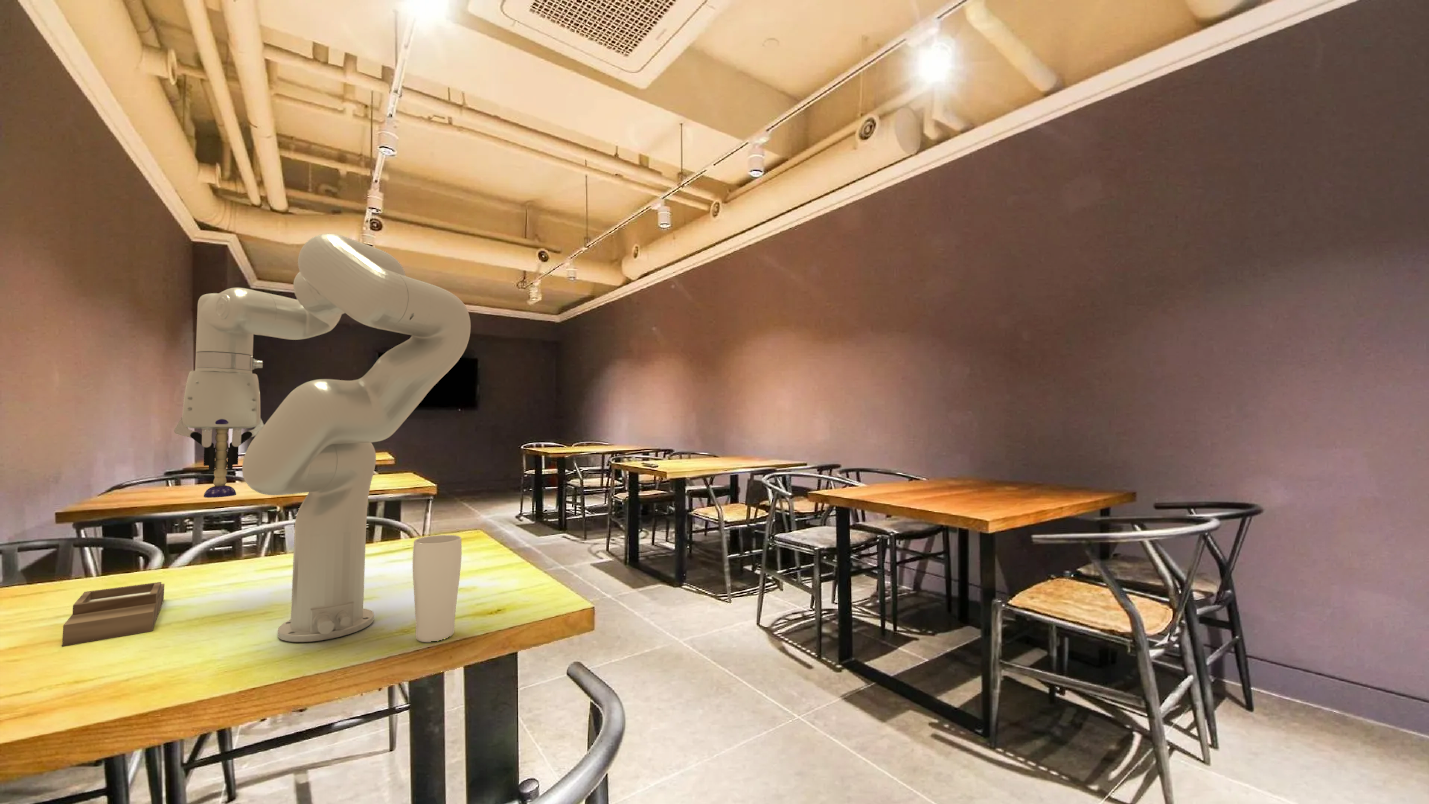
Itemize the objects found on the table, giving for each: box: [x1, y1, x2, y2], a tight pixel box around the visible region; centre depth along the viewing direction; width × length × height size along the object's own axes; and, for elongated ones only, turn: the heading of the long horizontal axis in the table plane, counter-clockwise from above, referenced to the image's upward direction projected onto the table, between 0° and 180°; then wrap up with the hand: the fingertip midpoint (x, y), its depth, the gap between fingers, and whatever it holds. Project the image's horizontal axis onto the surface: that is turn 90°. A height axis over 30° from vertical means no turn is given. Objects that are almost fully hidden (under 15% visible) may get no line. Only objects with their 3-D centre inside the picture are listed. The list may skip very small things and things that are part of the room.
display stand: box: [61, 581, 165, 647], centre depth 91 cm, size 20×9×4 cm, turn 42°
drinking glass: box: [412, 534, 463, 643], centre depth 85 cm, size 7×7×15 cm
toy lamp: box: [203, 419, 237, 499], centre depth 96 cm, size 5×5×17 cm
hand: (220, 468), depth 96 cm, fingers closed on toy lamp
